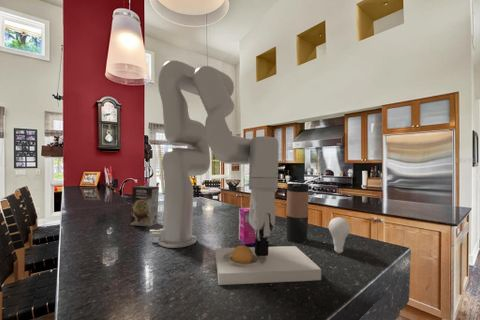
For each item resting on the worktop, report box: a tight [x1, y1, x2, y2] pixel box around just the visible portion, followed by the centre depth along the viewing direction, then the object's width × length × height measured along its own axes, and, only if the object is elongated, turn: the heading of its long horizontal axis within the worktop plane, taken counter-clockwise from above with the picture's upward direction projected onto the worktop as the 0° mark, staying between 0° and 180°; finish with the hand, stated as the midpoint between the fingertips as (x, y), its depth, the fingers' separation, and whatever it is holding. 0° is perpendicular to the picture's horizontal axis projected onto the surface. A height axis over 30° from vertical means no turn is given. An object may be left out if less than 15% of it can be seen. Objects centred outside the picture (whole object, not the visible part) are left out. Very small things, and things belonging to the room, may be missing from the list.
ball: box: [232, 244, 253, 264], centre depth 62 cm, size 6×6×6 cm
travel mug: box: [285, 182, 309, 244], centre depth 87 cm, size 8×8×20 cm
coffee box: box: [130, 185, 160, 227], centre depth 103 cm, size 9×6×16 cm
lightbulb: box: [328, 216, 351, 254], centre depth 74 cm, size 6×6×11 cm
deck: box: [214, 245, 322, 286], centre depth 62 cm, size 24×16×2 cm, turn 99°
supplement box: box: [238, 207, 257, 246], centre depth 82 cm, size 6×6×12 cm
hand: (261, 254), depth 62 cm, fingers closed
